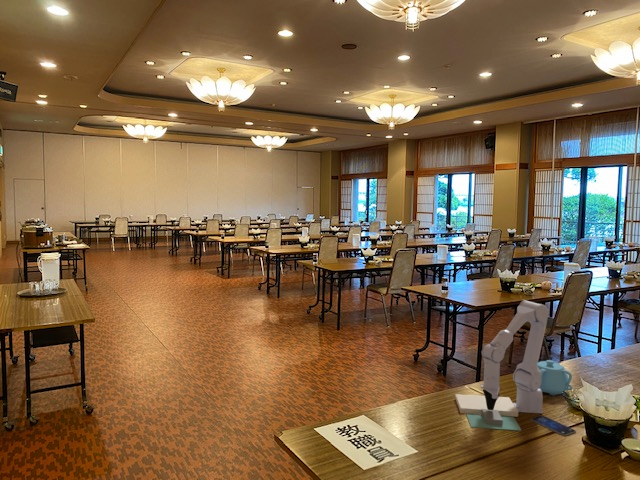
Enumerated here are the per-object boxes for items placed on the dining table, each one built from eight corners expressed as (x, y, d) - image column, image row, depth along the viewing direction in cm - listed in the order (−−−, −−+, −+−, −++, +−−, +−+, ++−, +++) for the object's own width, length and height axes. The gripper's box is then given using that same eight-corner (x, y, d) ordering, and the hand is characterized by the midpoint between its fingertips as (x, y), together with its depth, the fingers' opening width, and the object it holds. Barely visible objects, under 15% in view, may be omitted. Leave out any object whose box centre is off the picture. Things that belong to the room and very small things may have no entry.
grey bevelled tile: (497, 414, 191) (497, 409, 191) (502, 425, 182) (502, 420, 182) (481, 413, 192) (481, 408, 191) (486, 424, 183) (486, 419, 183)
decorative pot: (533, 395, 211) (534, 365, 209) (525, 382, 226) (526, 353, 225) (573, 399, 207) (575, 368, 206) (562, 385, 223) (564, 356, 222)
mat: (513, 417, 189) (513, 416, 189) (521, 430, 178) (521, 430, 178) (466, 414, 191) (466, 413, 191) (471, 427, 181) (471, 426, 181)
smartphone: (564, 435, 174) (529, 418, 187) (564, 438, 174) (529, 420, 188) (577, 430, 178) (542, 414, 191) (577, 433, 178) (542, 416, 191)
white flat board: (508, 401, 204) (509, 397, 204) (518, 416, 190) (518, 411, 190) (455, 398, 207) (455, 394, 206) (460, 413, 193) (460, 408, 193)
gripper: (477, 368, 196) (476, 400, 197) (484, 381, 182) (483, 416, 183) (495, 369, 195) (494, 401, 196) (504, 383, 181) (502, 417, 182)
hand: (490, 409), depth 190 cm, fingers closed
